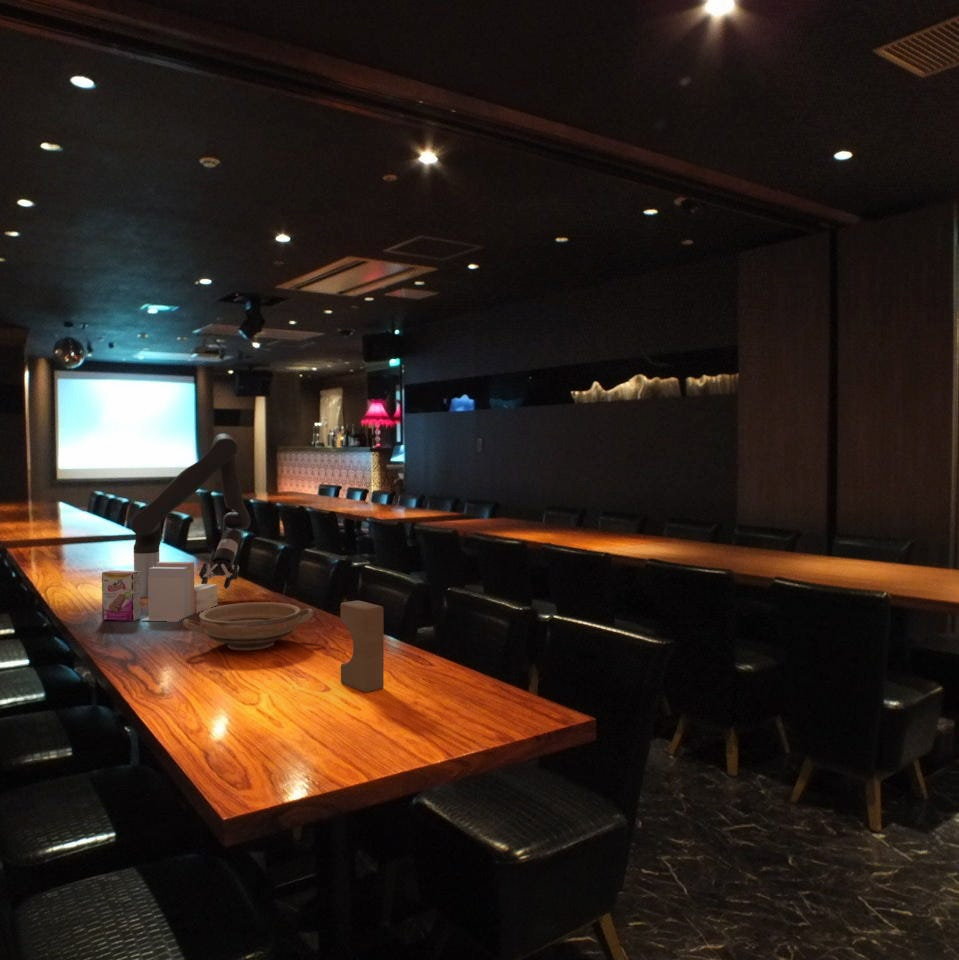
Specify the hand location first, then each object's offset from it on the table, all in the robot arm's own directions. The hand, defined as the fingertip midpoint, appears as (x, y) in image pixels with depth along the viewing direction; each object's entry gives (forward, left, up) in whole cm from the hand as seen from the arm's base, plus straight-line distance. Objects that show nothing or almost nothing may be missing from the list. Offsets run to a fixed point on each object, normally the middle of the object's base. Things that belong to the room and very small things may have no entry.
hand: (214, 587), depth 297 cm
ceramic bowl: (+37, -64, -5) cm, 74 cm away
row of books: (-4, -29, -5) cm, 30 cm away
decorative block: (+78, -101, -5) cm, 128 cm away
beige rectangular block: (0, -15, -5) cm, 16 cm away
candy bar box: (-18, -34, -5) cm, 39 cm away
